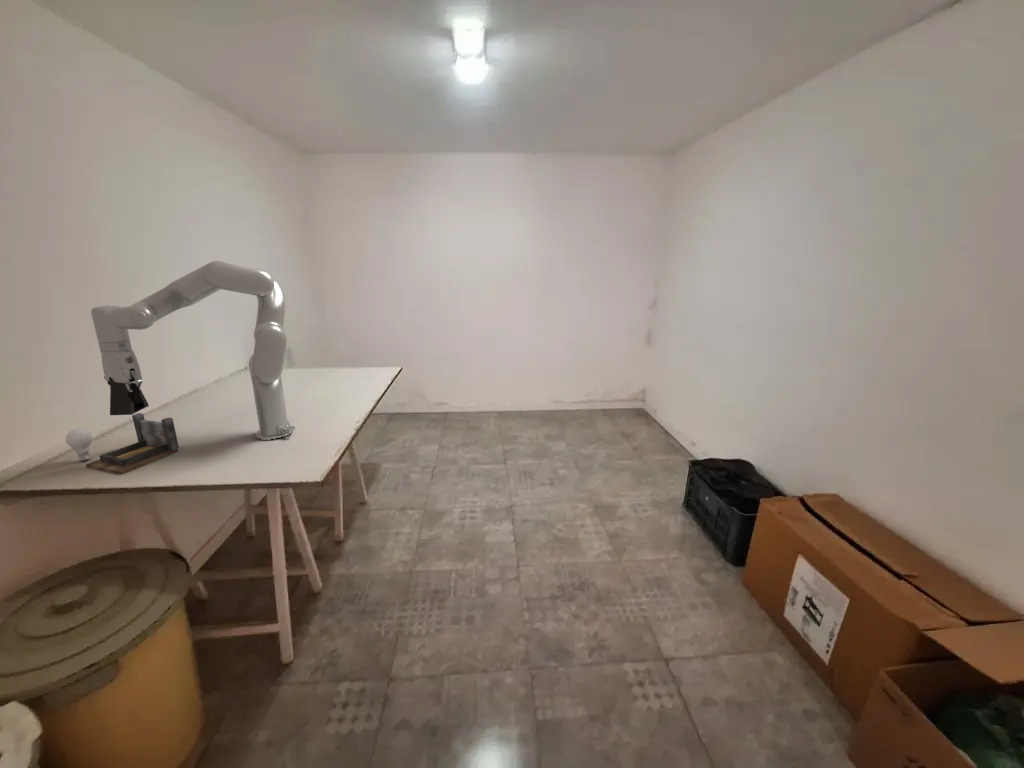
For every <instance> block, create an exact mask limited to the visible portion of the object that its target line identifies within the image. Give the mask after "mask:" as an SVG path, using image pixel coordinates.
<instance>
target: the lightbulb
mask: <svg viewBox="0 0 1024 768" xmlns="http://www.w3.org/2000/svg"><path fill="white" fill-rule="evenodd" d="M92 441H93V435H92V433H91V432H90V431H89V430H88V429H85V428H75V429H72V430H70V431H68V433H67V434H66V436H65V443H66V444H67V446H69V447H70V448H71V449H73V450H74V452H75V453H76V454H77V456H78V459H79V461H81V462H86V460H87V461H89V460H90V459H91V457H90V452H89V451H90V445H91V443H92Z"/></svg>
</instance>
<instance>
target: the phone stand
mask: <svg viewBox="0 0 1024 768" xmlns="http://www.w3.org/2000/svg"><path fill="white" fill-rule="evenodd" d="M129 381H130V382H131V381H132V380H130V379H129ZM109 382H110V385H109V389H110V390H109V391H110V394H109V395H110V396H109V399H110V400H109V403H110V404H109V416H129V415H130V416H132V415H135V414H137V413H139V412H140V411H141V410H144V409H146V408H148V407H149V403H148V401H147V399H146V397H145V395H144V393H143V391H142V389H141V388H140V390H139V392H140V396H141V402H139V403H136V404H134V403H133V399H132V394H131V395H130V398H129V397H128V393H127V392H129V391H128V389H127V387H126V385H125V384H124V383H117V382H114V380H113V379H112V378H111V377H109ZM132 385H133V383H132V384H130V386H131V387H132Z"/></svg>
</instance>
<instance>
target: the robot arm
mask: <svg viewBox="0 0 1024 768" xmlns="http://www.w3.org/2000/svg"><path fill="white" fill-rule="evenodd" d="M221 290H224V291H230V292H235V293H240V294H246V295H252V296H256V298H257V312H256V313H257V314H256V321H255V326H254V327H255V328H254V331H253V338H254V348H253V349H254V350H253V354H252V355H251V356H250V358H249V361H248V369H249V374H250V380H251V385H252V389H253V391H252V392H253V396H254V403H255V410H256V416H257V421H258V426H259V427H258V428H259V429H258V431H256V433H255V438H256V439H257V440H260V439H261V440H262V441H272V440H271V439H274V440H277V439H276V438H280V439H282V438H281V437H283V438H285V437H284V436H286V435H288V436H290V435H292V434H291V433H294V431H295V429H296V427H295V425H294V426H293V425H291V424H290V422H291V421H289V420H288V418H287V416H288V415H287V410H286V409H287V408H286V403H285V402H286V401H285V395H284V388H283V381H282V374H283V372H284V364H285V357H286V351H287V343H288V340H287V334H286V332H285V330H284V324H285V323H284V321H285V312H286V298H285V295H284V291H283V290H282V288H281V286H280V284H279V283H278V282H277V281H276V280H275V278H274V277H273V276H272V275H271V274H270V273H269V272H267V271H265V270H263V269H258V268H251V267H245V266H241V265H236V264H232V263H228V262H224V261H222V260H213V261H210V262H208V263H206V264H204V265H202V266H201V267H199V268H197V269H195V270H193V271H191V272H188V273H187V274H185V275H183V276H181V277H179V278H178V279H176V280H174V281H171V282H170V283H169V284H167V285H166V286H165V287H163V288H162V289H160V290H157V291H156V292H154V293H152V294H151V295H148V296H147V297H145V298H143V299H141V300H139V301H136V302H135V303H133V304H131V305H128V306H118V305H100V306H95V307H93V308H91V311H90V314H91V318H92V322H93V326H94V330H95V331H94V332H95V334H96V338H97V342H98V348H99V353H100V354H101V355H100V356H101V364H102V369H103V370H102V371H103V374H104V375H103V379H104V380H105V381H106V382H107V384H108V386H110V382H109V377H111V378H112V379H113V380H114V382H117V383H124V384H125V385H126V387H127V389H128V391H129V392H127V393H128V397H129V398H130V395H131V394H132V399H133V403H134V404H136V403H139V402H141V396H140V392H139V390H140V389H141V385H142V383H143V375H142V371H141V368H140V365H139V362H138V360H137V355H136V354H135V352H134V350H133V348H132V344H131V340H130V335H129V330H138V331H139V330H147V329H149V328H151V327H152V326H153V324H154V323H155V322H157V321H159V320H161V319H163V318H164V317H166V316H168V315H170V314H172V313H173V312H176V311H177V310H180V309H183V308H186V307H187V308H188V307H190V306H193V305H194V304H197V303H199V302H200V301H201V300H202V301H203V300H204V299H205V298H207V297H209V296H211V295H213V294H215V293H216V292H219V291H221ZM129 379H130V380H132V381H131V382H130V381H129ZM132 383H133V385H132V387H131V386H130V384H132ZM289 434H290V435H289ZM286 437H287V436H286Z"/></svg>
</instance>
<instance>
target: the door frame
mask: <svg viewBox="0 0 1024 768" xmlns="http://www.w3.org/2000/svg"><path fill="white" fill-rule="evenodd" d="M131 417H132V422H133V426H134V430H135V435H136V437H137V442H134V443H132V444H128V445H125V446H122V447H120V448H117V449H114V450H112V451H109V452H107V453H103V454H101V455H99V459H97V460H94V461H91V462H89V463H86V468H89V469H95V470H99V471H103V472H108V473H112V474H116V475H120V476H121V475H124V474H127V473H129V472H131V471H133V470H137V469H139V468H141V467H144V466H146V465H149V464H151V463H153V462H154V463H155V462H156V461H158V460H162V459H164V458H166V457H168V456H171V455H173V454H176V453H178V451H179V449H180V446H179V443H178V442H179V441H178V437H177V433H176V428H175V424H174V419H173V418H172V417H166V418H162V419H160V421H157V420H156V421H155V420H149V419H145V415H144V413H141V412H137V413H134V414H132V415H131Z"/></svg>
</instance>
